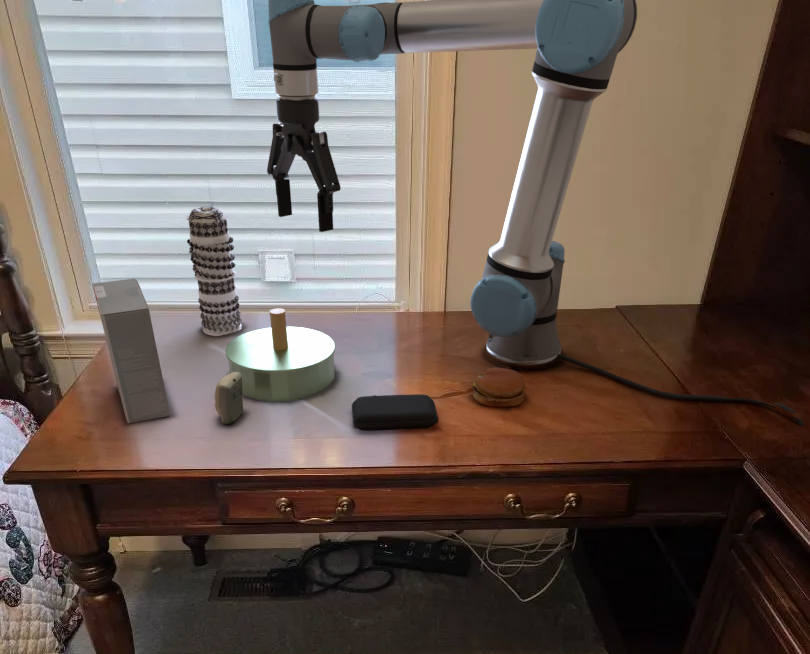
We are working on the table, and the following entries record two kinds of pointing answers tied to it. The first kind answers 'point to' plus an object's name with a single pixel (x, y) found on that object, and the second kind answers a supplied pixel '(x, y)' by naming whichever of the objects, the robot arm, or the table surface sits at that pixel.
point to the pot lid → (280, 347)
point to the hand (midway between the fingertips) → (305, 223)
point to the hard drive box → (132, 349)
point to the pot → (285, 382)
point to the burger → (499, 387)
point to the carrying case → (394, 412)
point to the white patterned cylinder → (214, 270)
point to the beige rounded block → (229, 398)
